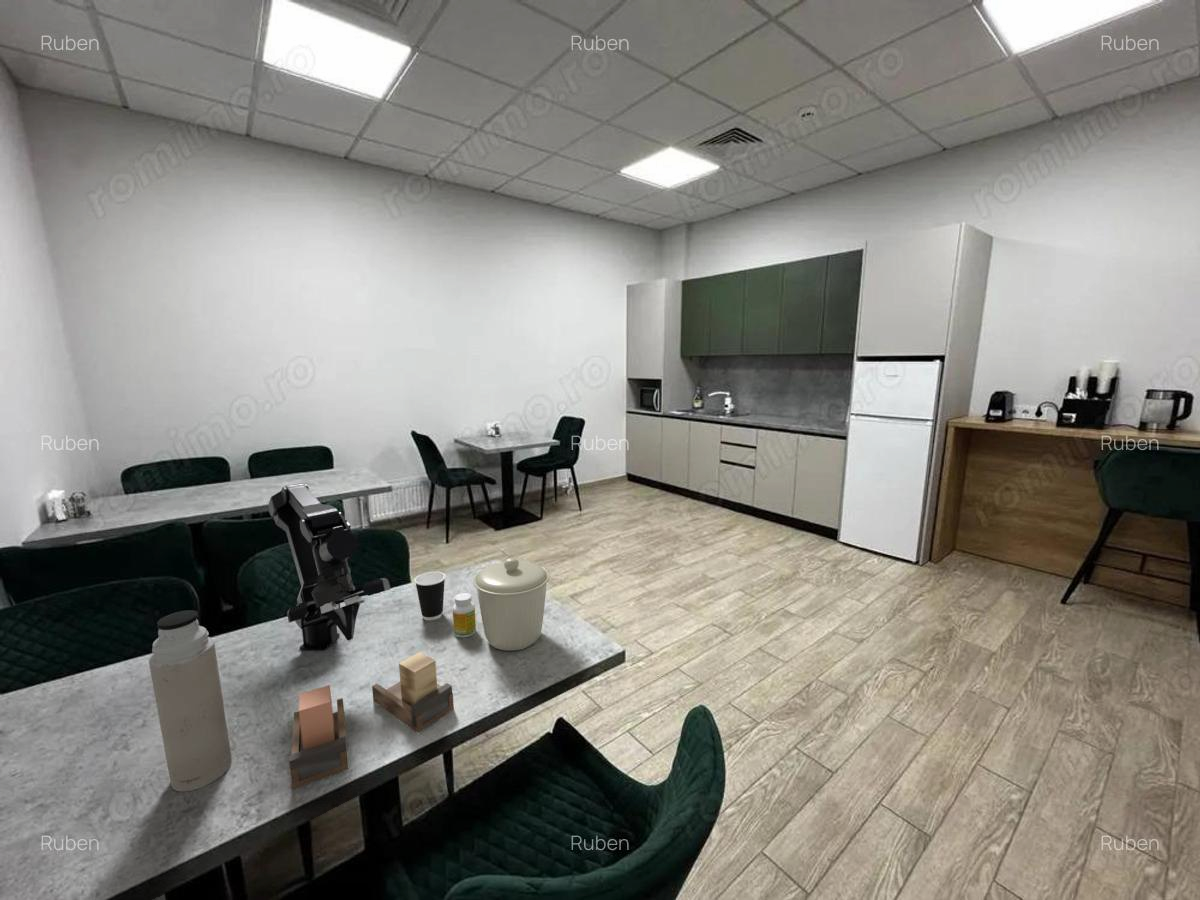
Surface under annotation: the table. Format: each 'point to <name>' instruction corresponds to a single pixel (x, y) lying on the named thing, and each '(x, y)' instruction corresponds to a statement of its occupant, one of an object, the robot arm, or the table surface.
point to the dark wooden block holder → (318, 753)
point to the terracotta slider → (316, 717)
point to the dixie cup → (431, 594)
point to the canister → (512, 602)
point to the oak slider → (417, 677)
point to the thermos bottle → (189, 702)
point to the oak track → (415, 705)
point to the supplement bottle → (464, 616)
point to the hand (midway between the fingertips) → (350, 639)
